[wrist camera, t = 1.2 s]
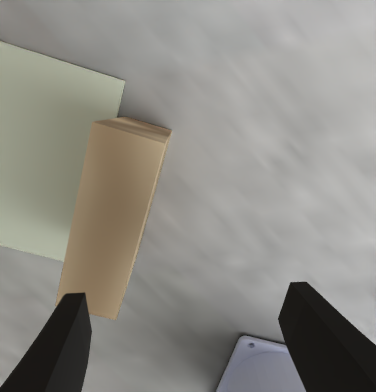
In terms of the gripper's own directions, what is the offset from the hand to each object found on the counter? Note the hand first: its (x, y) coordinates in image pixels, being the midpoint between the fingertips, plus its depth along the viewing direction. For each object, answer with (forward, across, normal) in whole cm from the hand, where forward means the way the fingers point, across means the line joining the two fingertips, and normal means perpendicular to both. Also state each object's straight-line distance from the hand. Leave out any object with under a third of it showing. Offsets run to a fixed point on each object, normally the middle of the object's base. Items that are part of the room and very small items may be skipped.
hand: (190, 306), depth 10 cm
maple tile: (+11, +3, +1) cm, 11 cm away
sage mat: (+12, +8, 0) cm, 14 cm away
